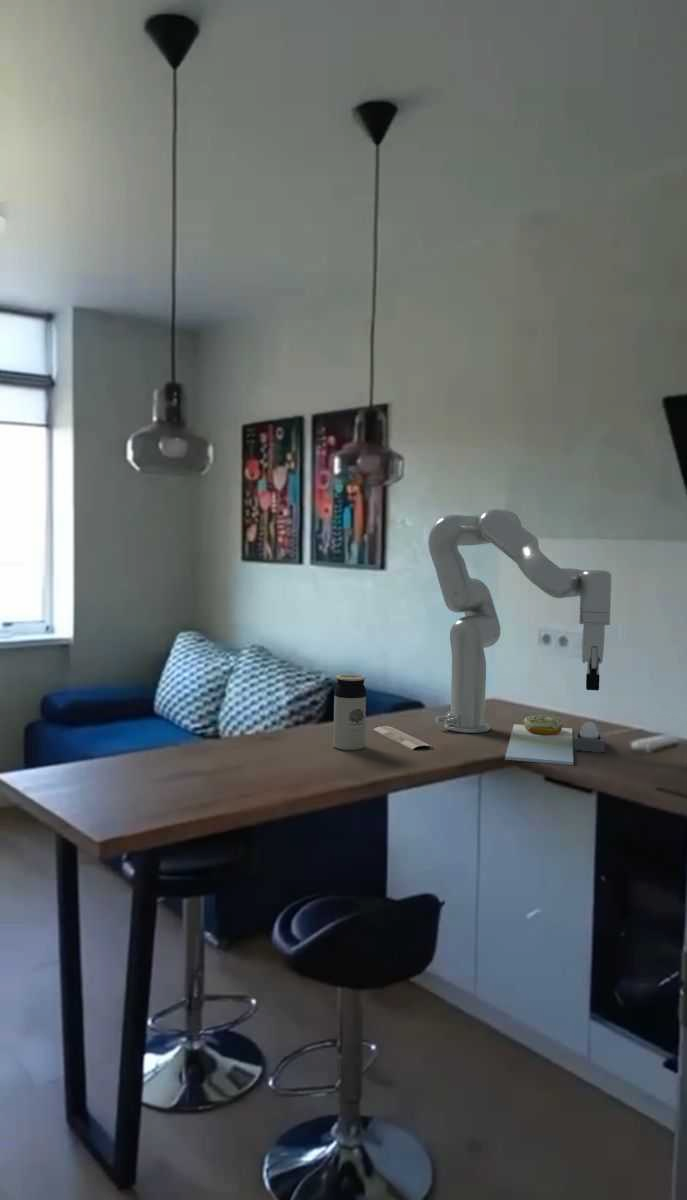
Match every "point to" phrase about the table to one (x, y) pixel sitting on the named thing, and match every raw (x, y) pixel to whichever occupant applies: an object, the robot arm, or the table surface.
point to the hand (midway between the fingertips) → (592, 689)
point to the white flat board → (540, 746)
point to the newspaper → (400, 737)
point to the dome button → (589, 731)
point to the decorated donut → (543, 724)
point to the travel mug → (349, 712)
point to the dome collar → (589, 743)
